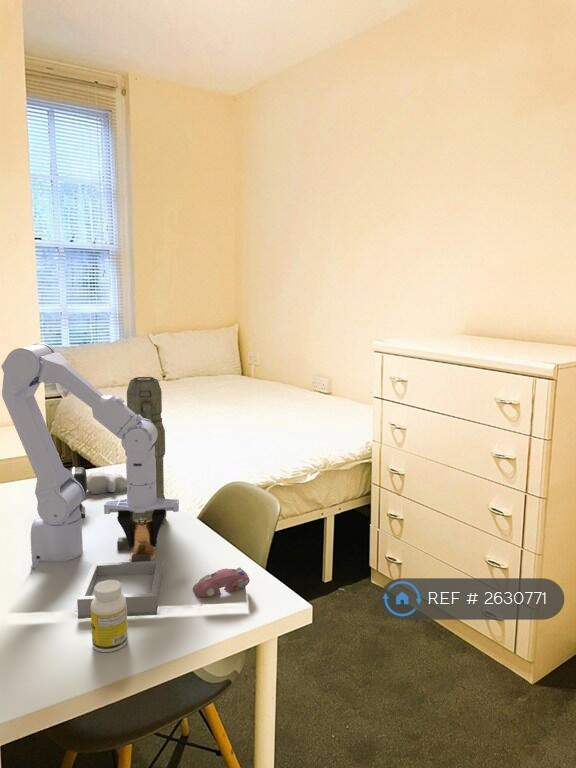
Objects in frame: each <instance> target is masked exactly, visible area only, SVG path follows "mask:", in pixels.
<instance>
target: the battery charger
mask: <svg viewBox="0 0 576 768" xmlns="http://www.w3.org/2000/svg"><path fill="white" fill-rule="evenodd" d="M69 471H71V472H72V474H73V476H74V478H75V480H76V481H77V482H79V483H80V484H81V485H82V487H83V489H84V492H85V494H86V493H87V492H88V490H87V477H88V476H87V470H86V468H85V467H83V466H82V467H81V466H79V467H75V466H73V467H70V469H69ZM79 509H80V511H81V519H83V518H85V516H86V507H85V506H84V505H83V504H82V503H81V504H80V505H79Z"/></svg>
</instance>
